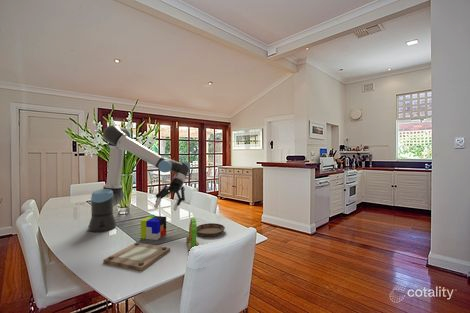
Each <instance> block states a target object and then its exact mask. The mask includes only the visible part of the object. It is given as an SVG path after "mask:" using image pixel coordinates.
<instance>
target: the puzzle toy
mask: <svg viewBox="0 0 470 313" xmlns="http://www.w3.org/2000/svg"><path fill="white" fill-rule="evenodd" d="M165 235H167V216H163V215H162V216H159V215H149V216H147V217H146V218H143V219H141V220H140V239H144V238H145V239H147V240H155V241H156V240H159V239H161V238H162V237H163V236H165Z"/></svg>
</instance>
